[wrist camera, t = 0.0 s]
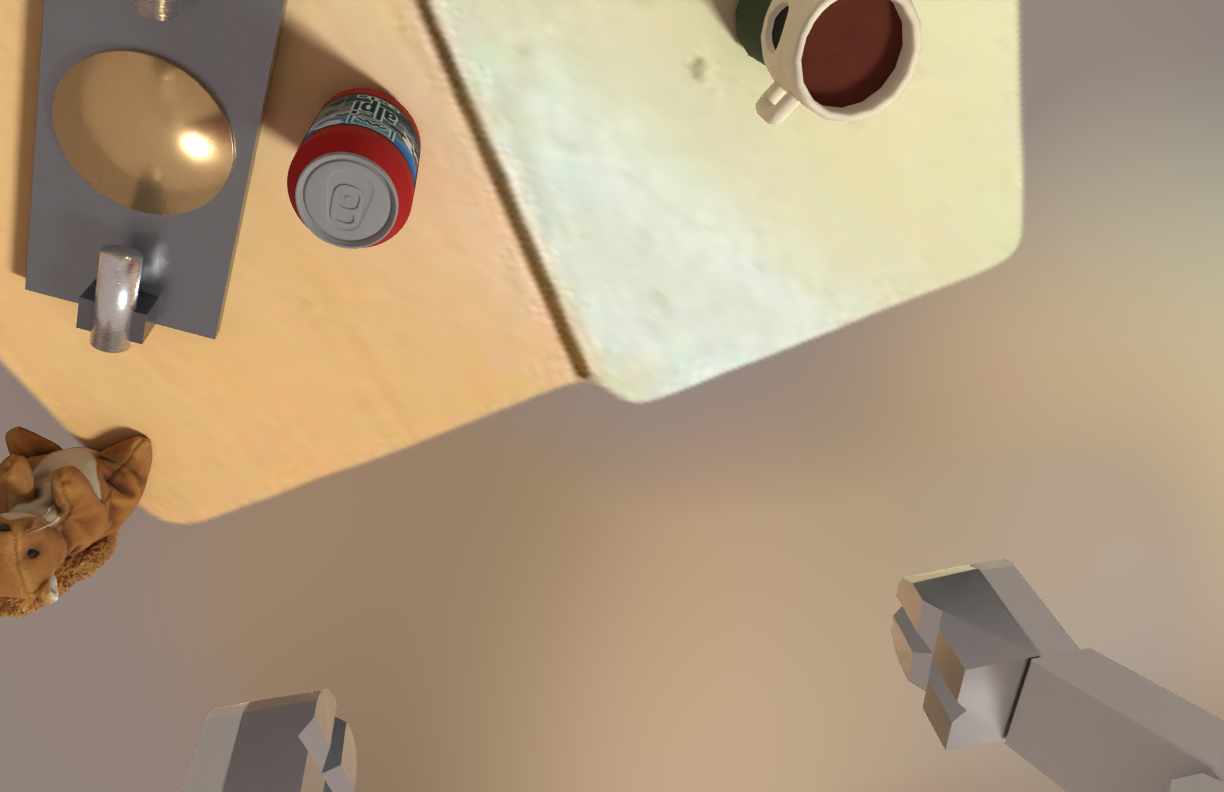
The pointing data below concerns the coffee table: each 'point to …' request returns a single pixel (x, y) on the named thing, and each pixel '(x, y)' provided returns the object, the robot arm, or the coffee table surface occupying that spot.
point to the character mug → (831, 54)
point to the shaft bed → (146, 158)
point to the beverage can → (356, 170)
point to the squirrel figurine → (62, 513)
